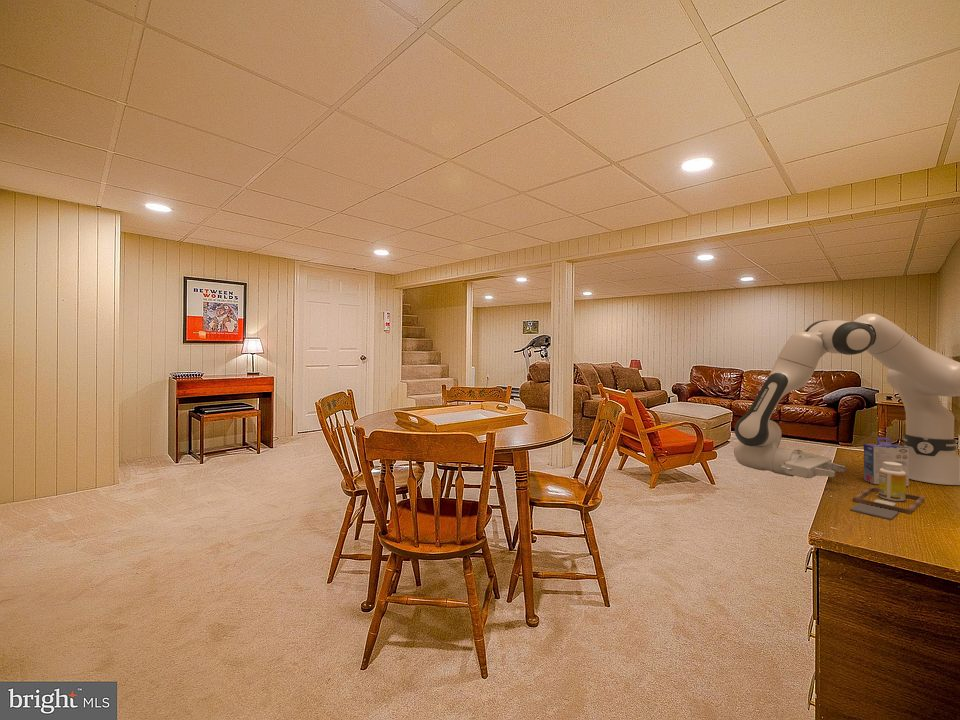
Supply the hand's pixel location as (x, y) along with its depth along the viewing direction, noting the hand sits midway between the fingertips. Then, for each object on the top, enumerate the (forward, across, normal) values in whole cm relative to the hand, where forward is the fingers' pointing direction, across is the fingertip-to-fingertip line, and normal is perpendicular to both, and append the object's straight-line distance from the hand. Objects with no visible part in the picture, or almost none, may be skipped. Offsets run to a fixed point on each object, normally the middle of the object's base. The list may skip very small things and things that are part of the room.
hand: (840, 471), depth 133 cm
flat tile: (+12, -8, +6) cm, 15 cm away
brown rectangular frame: (+12, -4, +5) cm, 13 cm away
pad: (+12, -18, +5) cm, 22 cm away
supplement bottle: (+12, 0, +5) cm, 13 cm away
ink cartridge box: (+7, +18, +5) cm, 20 cm away
